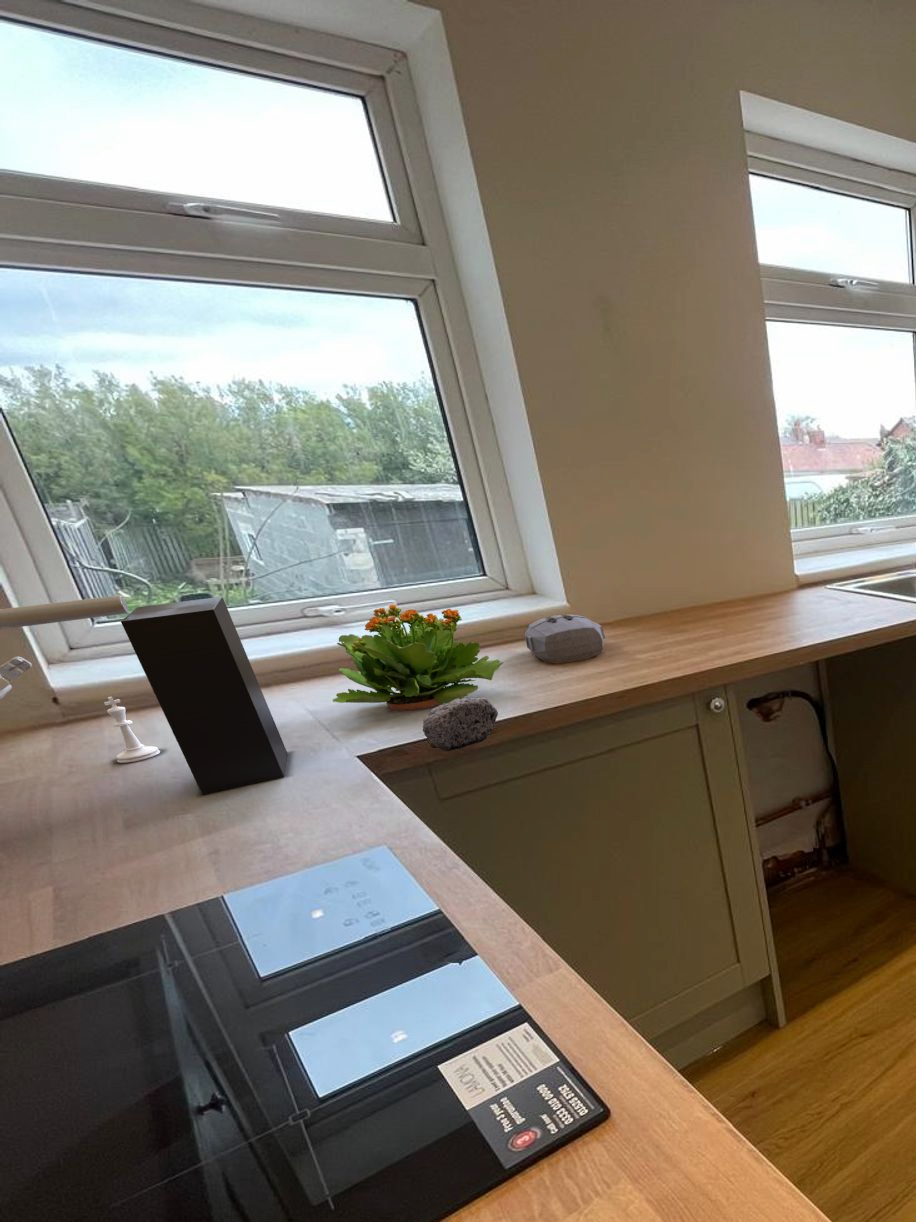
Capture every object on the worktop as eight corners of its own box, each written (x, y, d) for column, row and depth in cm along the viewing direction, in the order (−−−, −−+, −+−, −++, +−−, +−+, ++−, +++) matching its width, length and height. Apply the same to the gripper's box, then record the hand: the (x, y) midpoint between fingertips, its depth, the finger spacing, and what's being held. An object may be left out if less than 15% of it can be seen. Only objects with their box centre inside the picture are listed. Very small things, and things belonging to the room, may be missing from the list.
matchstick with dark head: (-75, 643, 97) (-90, 617, 96) (-65, 639, 100) (-80, 613, 99) (128, 618, 107) (116, 594, 106) (132, 614, 109) (121, 590, 108)
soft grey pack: (616, 654, 175) (590, 637, 189) (607, 615, 171) (582, 602, 186) (539, 669, 166) (519, 651, 180) (528, 629, 163) (508, 614, 177)
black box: (202, 795, 113) (120, 621, 104) (211, 769, 122) (137, 607, 113) (284, 776, 118) (213, 609, 109) (287, 753, 127) (222, 596, 118)
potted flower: (369, 736, 133) (330, 632, 126) (307, 715, 144) (269, 618, 138) (519, 692, 152) (493, 599, 145) (454, 676, 164) (427, 590, 157)
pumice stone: (434, 754, 131) (429, 756, 122) (418, 707, 129) (411, 706, 121) (506, 736, 136) (506, 738, 127) (491, 692, 134) (490, 690, 126)
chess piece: (164, 753, 129) (136, 694, 125) (122, 765, 125) (91, 704, 121) (155, 748, 132) (126, 690, 128) (113, 759, 128) (82, 699, 124)
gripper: (-176, 753, 88) (-45, 668, 92) (-103, 706, 103) (7, 635, 107) (-102, 790, 92) (21, 707, 95) (-42, 739, 107) (62, 669, 110)
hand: (14, 668), depth 101 cm, fingers open, 8 cm apart
